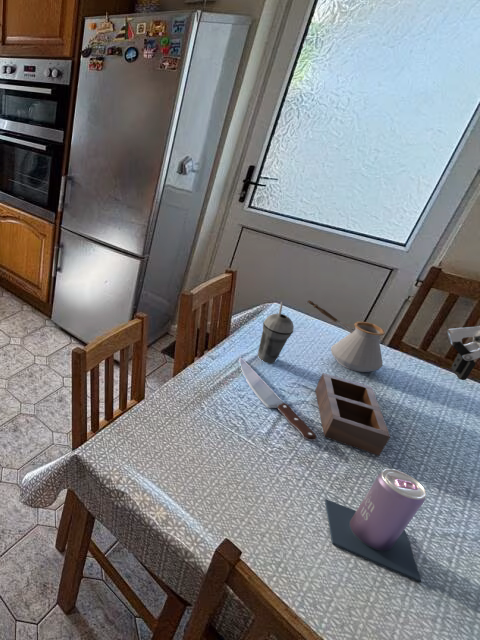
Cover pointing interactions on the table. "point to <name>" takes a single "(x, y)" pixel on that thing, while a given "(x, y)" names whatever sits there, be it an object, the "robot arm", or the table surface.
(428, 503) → the table surface
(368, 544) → the beverage can
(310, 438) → the steak knife
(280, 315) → the beverage cup
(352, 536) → the mat
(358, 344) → the coffee pot
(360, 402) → the box
